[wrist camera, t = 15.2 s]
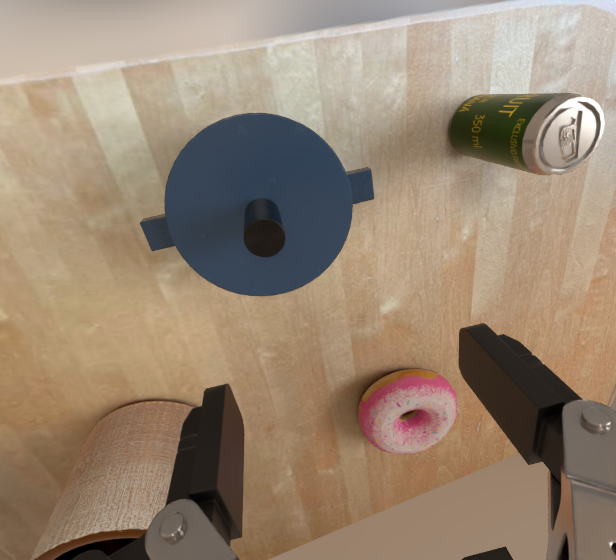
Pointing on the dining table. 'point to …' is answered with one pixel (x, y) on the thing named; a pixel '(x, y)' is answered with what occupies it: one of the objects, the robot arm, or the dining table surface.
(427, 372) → the donut
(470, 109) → the beer can
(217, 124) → the lid
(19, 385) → the dining table surface
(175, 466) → the robot arm
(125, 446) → the planter
